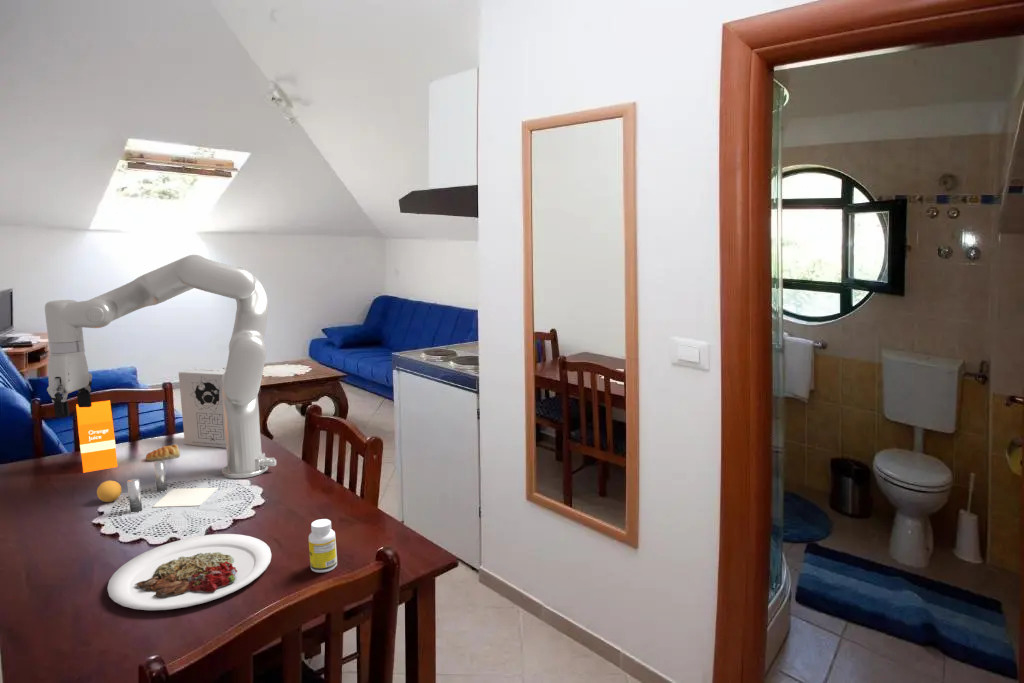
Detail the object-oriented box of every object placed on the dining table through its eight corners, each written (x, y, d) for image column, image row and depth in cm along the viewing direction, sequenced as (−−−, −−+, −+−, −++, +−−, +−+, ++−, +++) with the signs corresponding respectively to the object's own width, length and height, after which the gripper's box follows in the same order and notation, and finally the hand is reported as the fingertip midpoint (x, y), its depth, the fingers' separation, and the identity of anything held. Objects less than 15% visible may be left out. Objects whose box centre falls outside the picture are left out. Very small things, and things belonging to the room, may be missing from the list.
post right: (168, 488, 178) (166, 460, 177) (164, 491, 175) (161, 463, 174) (159, 488, 178) (156, 460, 176) (154, 492, 175) (151, 464, 174)
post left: (144, 508, 164) (141, 478, 163) (139, 512, 162) (135, 482, 161) (133, 508, 164) (130, 478, 163) (128, 513, 162) (125, 482, 160)
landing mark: (218, 488, 178) (218, 487, 177) (200, 506, 166) (199, 505, 166) (173, 489, 177) (173, 488, 177) (152, 507, 165) (151, 506, 165)
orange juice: (117, 467, 195) (111, 402, 192) (82, 472, 190) (75, 407, 187) (116, 459, 201) (109, 397, 198) (82, 465, 196) (75, 401, 193)
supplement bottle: (313, 561, 137) (310, 517, 135) (339, 560, 137) (337, 516, 136) (307, 574, 132) (304, 529, 130) (334, 572, 132) (332, 527, 131)
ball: (126, 496, 172) (124, 477, 171) (115, 505, 167) (113, 484, 166) (105, 497, 172) (103, 477, 171) (93, 505, 166) (91, 485, 165)
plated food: (163, 541, 147) (162, 527, 147) (293, 542, 146) (292, 528, 146) (71, 616, 118) (69, 599, 117) (232, 618, 117) (231, 601, 116)
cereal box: (255, 442, 218) (249, 370, 214) (240, 449, 211) (235, 374, 207) (200, 438, 223) (194, 367, 219) (184, 444, 216) (177, 371, 212)
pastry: (148, 464, 198) (147, 452, 197) (143, 459, 203) (142, 447, 202) (182, 458, 203) (181, 446, 203) (176, 452, 209) (175, 441, 208)
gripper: (72, 342, 175) (79, 403, 178) (29, 353, 158) (37, 421, 161) (100, 342, 176) (107, 403, 178) (61, 353, 159) (68, 420, 161)
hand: (74, 411), depth 170 cm, fingers open, 9 cm apart
